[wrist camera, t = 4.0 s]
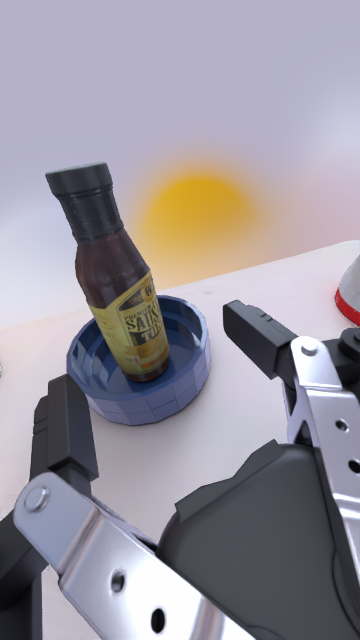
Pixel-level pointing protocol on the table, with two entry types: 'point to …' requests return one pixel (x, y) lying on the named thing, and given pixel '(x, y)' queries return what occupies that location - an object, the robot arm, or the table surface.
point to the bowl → (151, 396)
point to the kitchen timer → (350, 293)
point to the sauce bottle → (112, 271)
